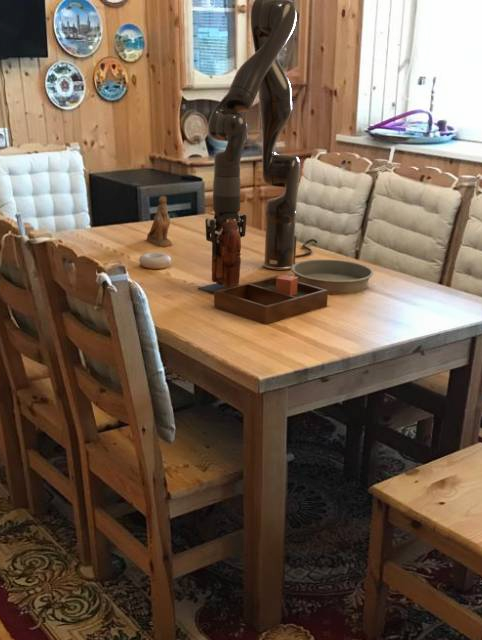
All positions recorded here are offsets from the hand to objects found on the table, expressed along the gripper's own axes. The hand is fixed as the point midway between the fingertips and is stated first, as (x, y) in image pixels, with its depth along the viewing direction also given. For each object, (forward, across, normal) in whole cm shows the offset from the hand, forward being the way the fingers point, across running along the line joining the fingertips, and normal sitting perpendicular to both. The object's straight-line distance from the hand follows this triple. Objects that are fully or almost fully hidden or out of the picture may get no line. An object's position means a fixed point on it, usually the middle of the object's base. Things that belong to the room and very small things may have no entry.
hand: (225, 254), depth 230 cm
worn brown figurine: (+10, +24, +57) cm, 63 cm away
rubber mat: (+10, 0, 0) cm, 10 cm away
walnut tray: (+10, -2, -20) cm, 22 cm away
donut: (+10, +2, +33) cm, 35 cm away
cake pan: (+10, +29, -16) cm, 35 cm away
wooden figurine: (+8, 0, 0) cm, 8 cm away
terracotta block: (+7, +4, -20) cm, 22 cm away
